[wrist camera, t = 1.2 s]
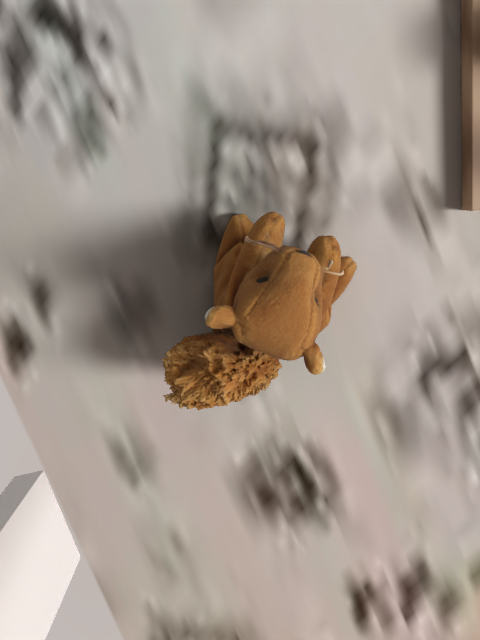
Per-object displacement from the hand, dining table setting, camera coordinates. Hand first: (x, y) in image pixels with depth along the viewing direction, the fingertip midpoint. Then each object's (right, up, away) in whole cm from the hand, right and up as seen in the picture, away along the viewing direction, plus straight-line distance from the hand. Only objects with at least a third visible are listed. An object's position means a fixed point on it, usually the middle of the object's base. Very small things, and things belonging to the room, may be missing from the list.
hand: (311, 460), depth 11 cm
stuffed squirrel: (0, +5, +24) cm, 24 cm away
